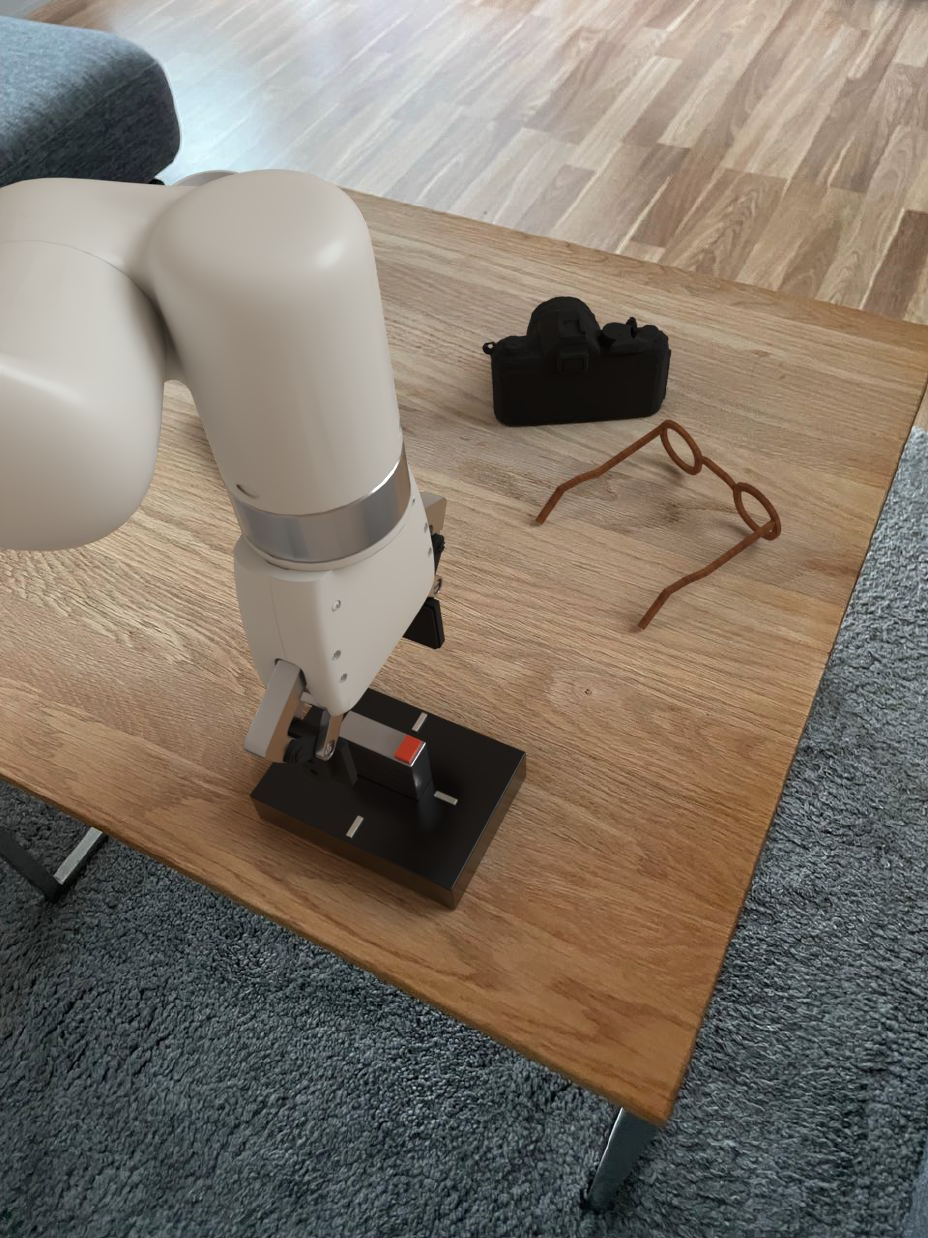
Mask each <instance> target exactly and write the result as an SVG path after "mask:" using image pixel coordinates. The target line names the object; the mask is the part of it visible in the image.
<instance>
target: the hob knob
mask: <svg viewBox="0 0 928 1238" xmlns="http://www.w3.org/2000/svg"><path fill="white" fill-rule="evenodd" d="M338 737H341V738H343V739H344V740H346V742H347V743H348V746H349V750H350V753H351V756H352V759H353V762H354V765H355V768H356V772H357V774H359V775H361V776H363V777H365V778H368V779H370V780H372V781H374V782H377V783H379V784H381V785H383V786H386V787H388V788H390V789H392V790H395V791H397V792H399V793H401V794H404V795H406V796H408V797H410V798H413V799H415V800H417V801H418V800H419V799H420V797H421V795H422V794H423V792H424V790H425V789H426V787H427V785H428V783H429V782H430V780H431V778H432V775H431V769H430V764H429V758H428V752H427V746H426V743H425V742H423V741H421V740H419V739H416V738H414V737H412V736H409V735H407V734H404V733H402V732H400V731H397V730H395V729H393V728H390V727H388V726H386V725H383V724H381V723H378V722H376V721H374V720H371V719H369V718H367V717H364V716H362V715H359V714H357V713H355V712H352V711H349V712H348V714H347V715H346V717H345V718H344V720H343V721H342V723H341V728H340V732H339V736H338Z"/></svg>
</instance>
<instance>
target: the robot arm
mask: <svg viewBox="0 0 928 1238" xmlns="http://www.w3.org/2000/svg"><path fill="white" fill-rule="evenodd" d="M389 347H390V346H389V339H388V333H387V327H386V321H385V315H384V308H383V302H382V295H381V288H380V283H379V275H378V270H377V265H376V258H375V251H374V247H373V243H372V237H371V234H370V230H369V227H368V225H367V222H366V220H365V218H364V216H363V214H362V212H361V210H360V209H359V207H358V206H357V204H356V202H355V201H354V200H353V199H352V197H350V196H349V195H348V194H347V193H346V192H345V191H344V190H343V189H341V188H340V187H338V186H337V185H336V184H334V183H333V182H332V181H329V180H326V179H324V178H322V177H319V176H317V175H314V174H311V173H307V172H303V171H300V170H299V171H298V170H294V169H293V170H292V169H282V168H281V169H280V168H268V169H253V170H248V171H241V172H238V173H237V174H233V175H229V176H225V177H222V178H219V179H216V180H214V181H211V182H208V183H206V184H204V185H202V186H172V185H165V184H164V185H163V184H150V183H137V182H123V181H113V180H101V179H92V178H74V177H43V178H34V179H27V180H20V181H18V182H14V183H11V184H8V185H5V186H2V187H0V549H2V550H3V549H4V550H10V551H17V552H18V551H19V552H47V553H48V552H56V551H64V550H65V551H66V550H71V549H78V548H81V547H84V546H87V545H90V544H93V543H95V542H98V541H100V540H102V539H104V538H106V537H108V536H109V535H112V533H115V532H116V531H118V530H119V529H120V528H121V527H122V526H123V525H124V524H125V523H126V522H127V521H129V519H131V517H132V516H133V515H134V514H135V513H136V512H137V511H138V509H139V508H140V506H141V504H142V503H143V500H144V499H145V498H146V495H147V493H148V491H149V489H150V486H151V485H152V481H153V477H154V475H155V470H156V466H157V465H156V464H157V460H158V455H159V448H160V440H161V439H160V438H161V430H162V421H163V408H164V394H165V392H164V391H165V383H166V382H168V381H178V382H180V383H181V384H183V385H184V386H185V387H187V388H188V391H189V392H190V394H191V398H192V400H193V402H194V406H195V409H196V411H197V413H198V417H199V419H200V422H201V424H202V425H201V426H202V427H203V430H204V433H205V435H206V438H207V441H208V444H209V447H210V449H211V452H212V455H213V458H214V461H215V463H216V466H217V470H218V471H219V472H218V473H219V474H220V477H221V479H222V482H223V484H224V487H225V490H226V494H227V495H228V499H229V502H230V504H231V507H232V510H233V512H234V515H235V517H236V521H237V524H238V527H239V529H240V532H241V534H240V536H239V537H238V539H237V541H236V543H235V544H234V547H233V548H232V549H233V550H232V555H233V575H234V584H235V593H236V599H237V605H238V610H239V614H240V619H241V623H242V628H243V631H244V635H245V638H246V641H247V642H246V643H247V645H248V649H249V652H250V655H251V658H252V661H253V664H254V667H255V670H256V672H257V675H258V677H259V679H260V681H261V683H262V685H263V687H264V688H265V691H264V694H263V695H262V698H261V700H260V703H259V704H258V708H257V710H256V712H255V715H254V717H253V719H252V721H251V724H250V726H249V729H248V731H247V734H246V736H245V738H244V741H243V745H242V746H243V750H244V751H245V752H247V753H248V754H252V755H253V756H256V757H258V758H260V759H262V760H265V761H267V762H272V763H273V762H278V763H287V764H289V765H291V766H295V765H298V764H300V765H301V767H302V769H303V771H304V773H305V774H306V775H308V776H309V777H310V778H312V779H314V780H316V781H318V782H320V783H323V784H329V783H330V781H331V780H333V781H336V782H338V783H340V784H342V785H345V786H347V787H350V788H352V787H353V785H354V784H355V782H356V781H357V772H356V768H355V765H354V762H353V759H352V756H351V753H350V750H349V746H348V743H347V742H346V740H344V739H343V738H341V737H338V736H339V732H340V728H341V723H342V719H343V715H344V713H345V712H347V711H349V710H350V709H351V708H352V707H353V706H354V705H355V704H356V703H357V702H358V701H359V699H360V698H361V697H362V695H363V694H364V692H365V691H366V690H367V688H370V685H371V684H372V683H373V681H374V680H375V678H376V677H377V675H378V674H379V672H380V671H381V670H382V668H383V666H384V665H385V664H386V662H387V661H388V659H389V658H390V656H391V655H392V653H393V651H394V650H395V648H396V647H397V645H398V644H399V642H400V641H401V639H402V638H403V639H406V640H408V641H411V642H413V643H417V644H419V645H421V646H424V647H427V648H428V649H431V650H438V649H441V648H442V646H443V645H444V643H445V641H446V636H445V631H444V624H443V622H444V621H443V616H442V610H441V603H440V602H441V601H440V600H439V599H437V598H436V597H437V596H438V595H439V594H440V592H441V590H442V588H443V583H444V577H443V576H442V575H439V574H437V571H438V569H439V564H440V560H441V556H442V553H443V552H444V551H445V549H446V546H445V544H446V541H445V536H444V535H442V534H440V533H441V531H442V530H443V529H444V524H445V516H446V511H447V503H448V501H447V498H446V497H445V496H442V495H438V494H435V493H432V492H429V491H427V490H424V491H422V492H420V489H419V486H418V484H417V482H416V479H415V476H414V473H413V471H412V469H411V467H410V464H409V462H408V459H407V453H406V446H405V440H404V434H403V429H402V420H401V415H400V408H399V402H398V396H397V390H396V385H395V377H394V371H393V365H392V359H391V352H390V348H389ZM305 704H307V705H310V706H311V707H312V706H314V707H317V708H319V709H321V710H324V711H323V714H322V719H321V723H320V726H317V725H315V724H313V723H310V722H308V721H306V720H303V718H302V717H303V713H304V709H305V708H304V707H305Z"/></svg>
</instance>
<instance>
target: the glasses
mask: <svg viewBox="0 0 928 1238" xmlns="http://www.w3.org/2000/svg"><path fill="white" fill-rule="evenodd" d="M669 430H672V431H673V432H676V434H678V435H679V436H680V437H681V438H682V440H684V441H685V443H686V444H687V446H688V447H689V449H690V451H691V453H692V457H693V460H694V461H693V466H692V465H690V464H688V463H687V462H685V461H684V460H683V459H682V458H681V457H680V456H679V455H678V453H676V452H675V450H674V448H673V447H672V445H671V442H670V439H669V435H668V431H669ZM658 437H659V438H660V441H661V445H662V447H663V448H664V450H665V452H666V454H667V455H668V457H669V458H670V460H672V462H673V463H674V464H675V465H676V466H677V467H678V468H679V469H680V470H681V471H683V472H684V473H686V474H688V475H690V476H696V475H698V474H699V473H701V471H702V469H703V465H704V466H705V467H706V468H708V469H709V470H710V471H711V472H712V473H713V474H714V475H715V476H717V477H718V478H719V479H720V480H722V481H723V482H724V483H725V484H726V485H727V486H728V487H729V488H730V490H731V491H732V498H733V503H734V507H735V509H736V511H737V514H738V515H739V517H740V518H741V520H742V521H743V522H744V523H745V524H746V526H747V527H748V528H749V529H750V530H751V531H752V533H750V534H749V535H748V536H747V537H745V538H744V539H742V540H741V541H740V542H738V543H737V544H736V545H734V546H733V547H731V548H730V549H728V550H727V551H726V552H725V553H723V554H722V555H720V556H719V557H718V558H716V559H715V560H713V561H712V562H710V563H709V564H707V565H706V566H705V567H704V568H701V569H698V570H696V571H695V572H692V573H690V574H687V575H685V576H683V577H682V578H680V579H678V580H677V581H675V582H673V583H672V584H670V585H668V586H667V587H665V588H663V589H662V591H660V593H659V595H658V596H657V597H656V599H655V600H654V601H653V603H652V604H651V605H650V607H649V608H648V609H647V610H646V612H645V614H644V615H643V616H642V617H641V619H639V621H638V623H637V624H636V626H637V627H638V628H639V629H641V630H643V631H645V630H646V629H647V627H648V626H649V625H650V623H651V622H652V620H653V619H654V618H655V616H656V615H657V614H658V613H659V611H660V610H661V608H662V607H663V606H664V605H665V603H666V602H667V601H668V600H669V598H670V597H671V595H672V594H675V593H677V592H678V591H680V590H682V589H683V588H685V587H687V586H688V585H689V584H692V583H694V582H697V581H699V580H702V579H703V578H706V577H708V576H710V575H711V574H713V573H714V572H715V571H717V570H718V569H719V568H721V567H722V566H723V565H725V564H726V563H728V562H729V561H731V560H732V559H734V557H736V556H737V555H739V554H740V553H742V552H743V551H744V550H746V549H747V548H748V547H750V546H751V545H753V544H754V543H756V541H758V540H759V539H761V538H762V539H763V540H765V541H770V542H772V541H775V540H776V539H778V537H780V535H781V533H782V522H781V519H780V516H779V514H778V511H777V510H776V508H775V507H774V505H773V503H772V502H771V501H770V500H769V498H768V497H766V495H765V494H763V492H762V491H760V490H759V489H758V488H756V487H755V486H753V485H752V484H750V483H748V482H742V481H739V482H736V481H735V480H734V479H733V478H732V477H731V476H730V474H729V473H728V472H726V471H725V470H724V469H723V468H722V467H720V465H718V464H717V463H716V462H715V461H713V460H712V459H711V458H709V457H707V456H705V455H703V454H702V450H701V448H700V447H699V445H698V444H697V442H696V441H695V439H694V438H693V437H692V435H691V434H690V433H689V432H688V431H687V430H686V429H685V427H684V426H682V425H681V424H680V423H678V422H676V421H674V420H672V419H665V420H664V421H662V422H661V423H660V424H659V425H658V426H656V427H655V428H653V429H652V430H650V431H649V432H647V433H646V434H644V435H643V436H641V437H640V438H639V439H637V440H636V441H635V442H633V443H632V444H630V445H629V446H627V447H625V448H624V449H623V450H622V451H620V452H619V453H617V454H616V455H614V456H613V457H611V458H609V460H607V461H606V462H604V463H602V464H601V465H600V466H598V467H597V468H595V469H592V470H589V471H586V472H584V473H580V474H578V475H575V476H574V477H572V478H570V479H569V480H567V481H565V482H563V483H561V484H560V485H558V486H557V487H556V488H555V489H554V491H553V492H552V494H551V496H550V497H549V498H548V500H547V501H546V503H545V504H544V506H543V508H542V509H541V510H540V511H539V513H538V515H537V516H536V517H535V519H534V521H535V522H536V523H538V524H540V525H544V523H545V522H546V520H547V519H548V518H549V516H550V514H551V513H552V512H553V510H554V508H555V507H556V505H557V504H558V502H559V501H560V499H561V498H562V497H563V496H564V494H565V492H567V491H569V490H571V489H572V488H574V487H576V486H578V485H580V484H583V483H585V482H587V481H590V480H593V479H597V478H598V477H602V476H603V475H605V473H607V472H608V471H610V470H612V469H613V468H614V467H617V465H619V464H620V463H622V462H623V461H625V460H626V459H627V458H629V457H630V456H631V455H633V454H634V453H636V452H637V451H639V450H640V449H642V448H643V447H645V446H646V445H647V444H649V443H650V442H652V441H653V440H655V439H656V438H658ZM742 492H743V493H747V494H749V495H750V496H751V497H753V498H754V499H755V500H757V501H758V502H759V503H760V505H761V506H762V507H763V509H764V510H765V511H766V513H767V514H768V516H769V519H770V520H769V521H767V522H766V523H765V524H763V525H762V526H760V525H759V524H757V523H756V522H755V521H754V519H753V518H752V517H751V516H750V515H749V513H748V511H747V509H746V508H745V506H744V503H743V497H742Z"/></svg>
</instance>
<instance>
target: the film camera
mask: <svg viewBox="0 0 928 1238" xmlns="http://www.w3.org/2000/svg"><path fill="white" fill-rule="evenodd" d="M669 340H670V339H669V336H668V335H667V334H666V333H665V332H664V331H663V330H660V329H659V328H658V326H656V325H655V324H645V325H643V326H638V322H637V319H636V317H634V316H630V317H629V318H628V319H627V321H625V323H622V322H618V321H611V322H608V323H605V325H603V326H602V328H601V326H600V324H599V322H598V320H597V319H596V315H595V313H594V312H593V311H592V310H591V308H590V307H589V306H588V304H587V303H586V302H584V300H583V301H582V300H581V299H580V298H578V297H574V296H570V295H568V296H563V295H562V296H561V295H560V296H554V297H552V298H549V299H548V300H544V301H542V302H541V303H539V304H538V305H537V306H536V307H535V308H534V310H533V311H532V312H531V314H530V318H529V321H528V324H527V329H526V333H525V335H508V336H505V337H504V338H500V339H499V340H498V341H496V342H495V341H488V342H484V343H483V345H482V346H481V349H482V352H483V353H484V354H485V355H488V356H490V370H491V388H492V391H491V392H492V410H493V414H494V417H495V419H496V421H498V422H499V423H500V424H502V425H504V426H507V427H521V426H544V425H558V424H559V425H560V424H574V423H577V424H578V423H589V422H601V421H602V422H603V421H604V422H605V421H615V420H617V421H618V420H625V419H633V418H643V417H651V416H653V415H655V414H657V413H658V412H659V411H660V409H661V408H662V405H663V403H664V401H665V400H666V396H667V386H668V379H669V371H670V365H671V357H672V349H671V348H670V346H669ZM490 345H491V346H492V347H489V346H490Z"/></svg>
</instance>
